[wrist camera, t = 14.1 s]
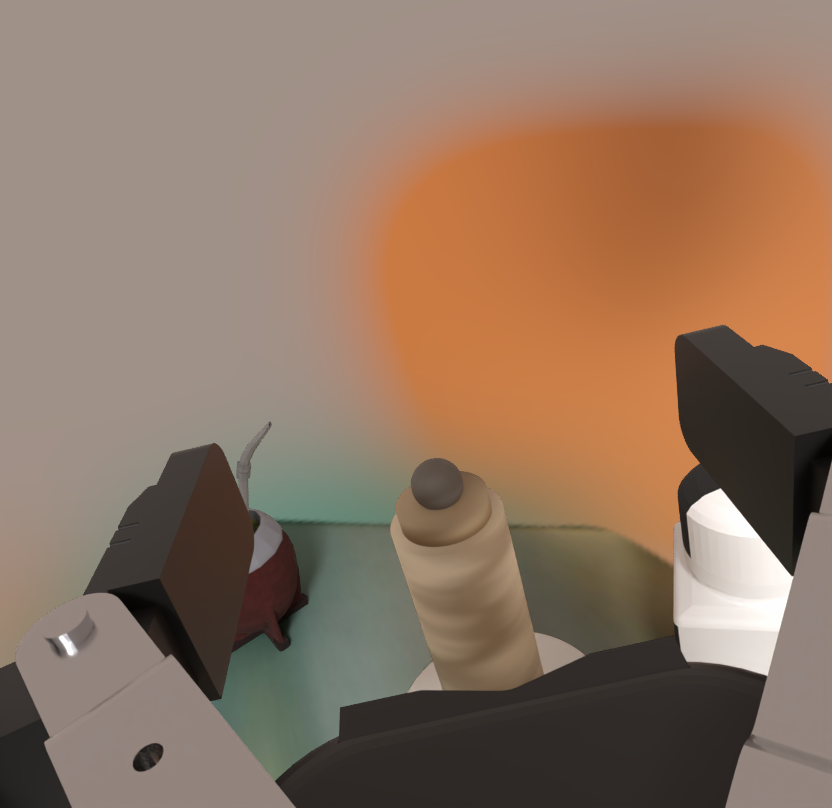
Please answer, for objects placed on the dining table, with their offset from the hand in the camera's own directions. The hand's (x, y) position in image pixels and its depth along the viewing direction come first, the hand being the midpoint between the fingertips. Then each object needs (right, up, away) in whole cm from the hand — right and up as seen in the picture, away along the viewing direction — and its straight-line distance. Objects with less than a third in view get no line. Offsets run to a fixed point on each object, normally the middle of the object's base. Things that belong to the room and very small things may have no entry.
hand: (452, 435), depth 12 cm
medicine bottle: (+17, -13, +23) cm, 31 cm away
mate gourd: (-10, -15, +36) cm, 40 cm away
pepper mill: (+4, -15, +24) cm, 28 cm away
